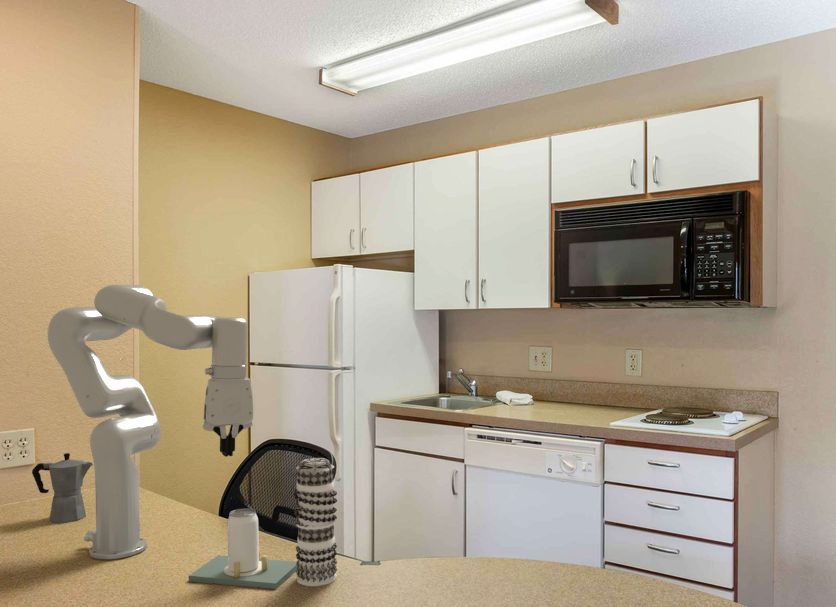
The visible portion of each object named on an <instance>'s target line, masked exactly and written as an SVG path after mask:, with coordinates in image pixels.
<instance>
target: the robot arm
mask: <svg viewBox="0 0 836 607" xmlns="http://www.w3.org/2000/svg"><path fill="white" fill-rule="evenodd" d="M93 301H94V302H93V303H94V306H74V307H68V308H64V309H62V310H59V311H57V312H56V313H55V314H54V315H53V316H51V317H52V318H50V321H49V324H48V328H47V341H48V342H47V343H48V346H49V348H50V351H51V352H52V354H53V356H54V358H55V359H56V361H57V363H58V364H59V365H60V367H61V368H62V370H63V373H64V374H65V376H66V378H67V380H68V383H69V386H70V388H71V390H72V392H73V394H74V396H75V399H76V401H77V403H78V405H79V407H80V410H82V412H83V413H84V415H85V416H86V417H88V418H93V419H96V418H98V419H99V418H104V417H110V416H114V415H119V416H117V417H112V418H108V419H105V420H103V421H101V422H99V423H98V424H96V426H94V428H93V429H92V430H91V433H90V436H89V447H90V451H91V455H92V460H93V467H94V478H95V481H94V482H95V483H94V484H95V485H94V486H95V525H96V527H95V530H93V529H89V530H88V531H86V535H84V538H83V541H84V542H92V545H91V547H89V549H88V550H89V556H90V557H92V558H93V559H95V560H116V559H123V558H127V557H128V558H129V557H131V556H134V555H137V554H139V553H142V552H144V550H146V548H147V547H148V542H147V539H145V538H142V537H141V534H140V533H141V531H140V530H141V529H140V527H141V526H140V525H141V524H140V523H141V522H140V521H141V520H140V478H139V471H138V468H137V466H136V464H135V462H134V460H133V457H132V455H135V454H138V453H142V452H145V451H148V450H151V449H153V448H155V446H157V445H158V444H159V443H160V441H161V440H160V439H161V438H162V426H161V422H160V420H159V417H158V415H157V412H156V411H155V409H154V407H153V405H152V402H151V400H150V399H149V396H148V394H147V392H146V390H145V388H144V387H143V385H142V383H141V382H139V380H138V379H136V378H135V377H134V376H131V375H126V374H119V375H118V374H117V375H111V374H109V372H108V370H107V369H106V367H105V365H104V363H103V361H102V359H101V356H99V355H98V353H97V352H95V350H93V349H91V348H90V347H89V346H88V345H87V344H86V342H95V341H96V342H97V341H108V340H110V341H111V340H113V339H117V338H119V337H120V336H122V335H124V333H127V332H128V331H129V330H132V329H133V328H134V329H136V330H138V331H141V332H142V333H143V335H145V337H146V338H148V339H149V340H150V341H152V342H155V343H157V344H159V345H162V346H164V347H169V348H171V349H174V350H179V351H188V350H189V351H190V350H196V349H197V350H198V349H199V350H200V349H207V348H209V349H210V348H211V364H210V366H209V367H207V368H204V375H208V376H210V377H211V378H208V381H207V384H206V389H205V397H204V405H203V420H204V421H203V425H202V429H203V430H205V431H209V432H214V433H215V434H216V435H217V436H218V437H219V452H220V453H221V454H222V456H224V457H226V458H227V457H233V456H234V455H233V454H234V452H235V451H236V439H237V437H238V435H239V434H240V433H241V432H242V431H243V430H246V429H248V428H251V427H252V426H253V420H254V399H253V398H254V397H253V389H252V381H251V378H249V377H247V367H248V366H247V365H248V364H247V363H248V361H247V360H248V321H247V320H246V319H245V318H243V317H231V316H229V317H228V316H218V315H213V314H203V315H202V314H192V315H190V314H189V315H188V314H187V315H180V314H176V313H174V312H171V311H168V310H167V309H168V308H167V305H166V302H165V301H164V300H163V299H162V298H160V297H158V296H154V294H153V293H152V291H151V290H150V289H149V288H147V287H145V286H143V285H140V284H110V285H106V286H104V287H102V288H100V289H99V290H98V291H97V293H96V294H95V295H94V300H93ZM226 426H229V428H228V429H229V430H228V434H227V427H226Z"/></svg>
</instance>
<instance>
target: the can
mask: <svg viewBox="0 0 836 607" xmlns="http://www.w3.org/2000/svg"><path fill="white" fill-rule="evenodd" d="M226 523H227V529H226V530H227V556H228V568H229V570H230V571H231V572H234V562H240V573H247V572H251V571H253V570H255V569H256V568H257V567H258V566H259V547H260V544H259V542H260V540H259V538H260V536H259V535H260V534H259V518H258V515H257V511H256V510H255V509H253V508H238V509H234V510H231V511H229V516H228V519H227V522H226Z"/></svg>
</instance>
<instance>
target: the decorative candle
mask: <svg viewBox="0 0 836 607" xmlns="http://www.w3.org/2000/svg"><path fill="white" fill-rule="evenodd" d="M334 468H335V465H333V464H331V462H330V461H329V459H327V458H324V457H311V458H309V457H308V458H306V459H303V460H302V461H301V462H300V464H299V465H298V466H297V467H295V470H296V472H297V473H296V474H297V478H296V479H297V481H296V486H295V487H294V488H293V491H294V492H293V493H292V494H293V499H295V500H294V504H293V505H294V507H295V509H294V515H295V516H296V519H295V520H294V521H295V526H296V527H297V531H298V532H297V542H296V543H297V545H296V546H295V551H296V552H297V553H296V554H295V557H296V558H295V559H297V561H296V567H297V570H296V571H295V573H296V581H297V583H298V584H300V585H302V586H306V587H320V586H321V587H322V586H326V585H329V584H332V583H333V582H335V581H336V580H337V578H338V577H337V576H338V575H337V572H338V568H337V564H338V561H337V558H336V556H337V554H338V553H337V550H336V549H337V547H338V546H337V543H336V536H335V526H334V525H335V524H336V523H337V521H336V520H337V519H338V516H337V515H336V514H335V513H336V512H337V510H338V509H337V508H336V507H334V505H335V504H336V503H337V502H338V499H337V498H335V497H336V496H337V495H338V491H336V490H334V489H335V480H334Z"/></svg>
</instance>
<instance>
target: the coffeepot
mask: <svg viewBox="0 0 836 607" xmlns="http://www.w3.org/2000/svg"><path fill="white" fill-rule="evenodd" d="M63 457H64V458H63V460H60V461H57V462H45V463H44V462H40V463H37V464H36V466H34V468H33V469H32V470H31V474H32V476H33V478H34V481H35V483H36V485H37V488H38V491H39V493H40V494H48V493H49V491H50V489H45V488H44V482H43V480H42V476H41V473H40V471H48V472H49V475H50V481H51V482H50V483H51V486H52V490H53V497H52V501H51V507H50V508H51V509H50V514H49V521H50V522H51V523H54V524H66V523H72V522H77V521H79V520H82V519H84V518H85V517H86V516H87V515H86V508H85V504H84V499H83V493H82V487H83V483H84V478H85V476H86V474H88V471H89V469H90V468H91V467H92V466H94V463H93V462H90V461H84V460H82V459H70V458H71V453H69V452H66V453H63Z"/></svg>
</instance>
